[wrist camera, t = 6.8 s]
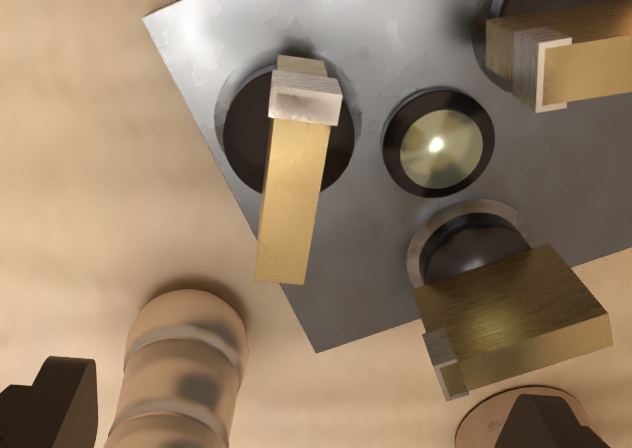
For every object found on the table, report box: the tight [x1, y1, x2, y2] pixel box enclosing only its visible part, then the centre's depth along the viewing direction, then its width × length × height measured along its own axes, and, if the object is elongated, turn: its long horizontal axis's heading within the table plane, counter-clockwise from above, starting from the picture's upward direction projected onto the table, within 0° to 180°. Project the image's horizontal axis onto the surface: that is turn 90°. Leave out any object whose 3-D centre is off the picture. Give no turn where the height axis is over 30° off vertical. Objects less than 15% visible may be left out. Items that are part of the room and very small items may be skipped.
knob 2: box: [486, 0, 632, 113], centre depth 20 cm, size 7×6×8 cm
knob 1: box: [223, 54, 355, 285], centre depth 22 cm, size 7×6×8 cm
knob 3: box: [412, 212, 613, 401], centre depth 26 cm, size 7×6×8 cm
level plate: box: [141, 0, 632, 353], centre depth 27 cm, size 20×20×3 cm
